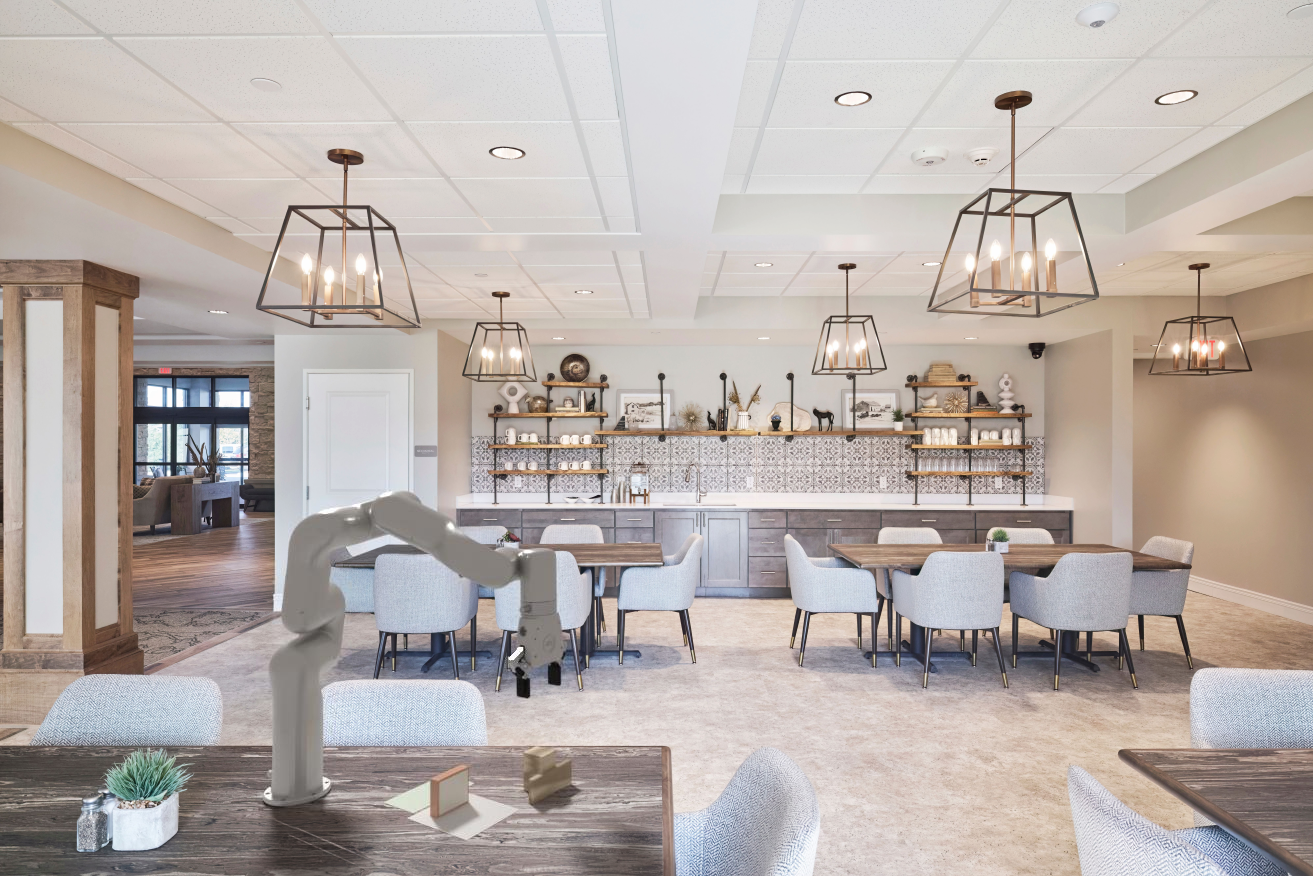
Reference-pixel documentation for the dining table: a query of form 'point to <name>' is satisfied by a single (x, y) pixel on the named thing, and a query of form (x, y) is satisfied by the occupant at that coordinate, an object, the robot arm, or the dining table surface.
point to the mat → (467, 817)
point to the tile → (449, 791)
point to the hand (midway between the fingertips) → (539, 690)
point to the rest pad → (414, 799)
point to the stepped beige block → (544, 773)
